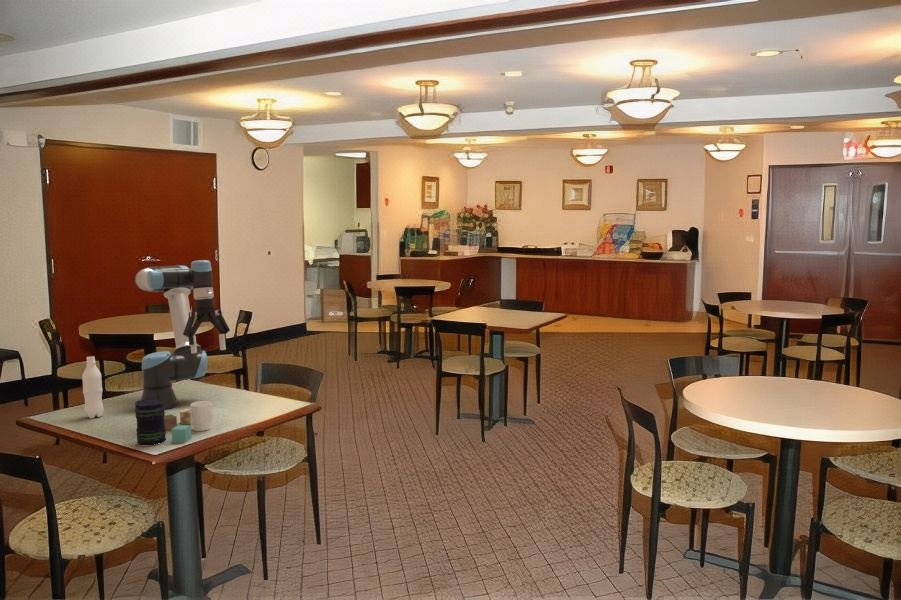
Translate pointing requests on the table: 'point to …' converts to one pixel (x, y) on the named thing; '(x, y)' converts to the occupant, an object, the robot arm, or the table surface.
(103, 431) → the table surface
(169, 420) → the walnut block
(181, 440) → the teal block
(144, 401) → the storage jar
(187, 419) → the maple block
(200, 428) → the white cup
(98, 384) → the water bottle
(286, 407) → the table surface
